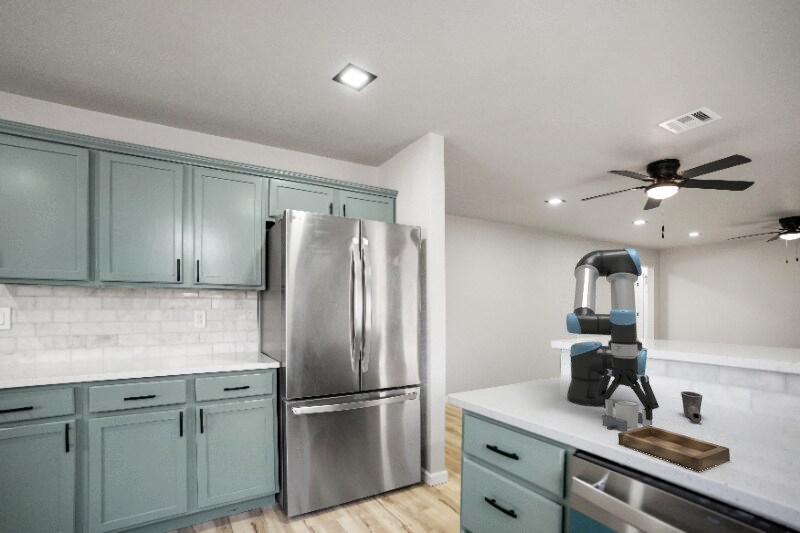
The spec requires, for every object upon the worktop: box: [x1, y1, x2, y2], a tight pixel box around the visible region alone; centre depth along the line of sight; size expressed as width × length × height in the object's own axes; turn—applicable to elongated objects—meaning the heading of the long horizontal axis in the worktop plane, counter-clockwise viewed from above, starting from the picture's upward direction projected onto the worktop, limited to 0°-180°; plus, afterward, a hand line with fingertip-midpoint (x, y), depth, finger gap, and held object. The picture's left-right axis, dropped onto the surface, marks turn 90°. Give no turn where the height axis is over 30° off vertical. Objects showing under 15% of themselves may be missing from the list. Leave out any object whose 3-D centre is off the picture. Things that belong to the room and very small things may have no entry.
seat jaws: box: [601, 411, 653, 432], centre depth 126 cm, size 7×19×3 cm, turn 117°
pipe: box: [680, 391, 704, 423], centre depth 133 cm, size 6×13×8 cm, turn 151°
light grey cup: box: [614, 400, 640, 429], centre depth 126 cm, size 7×7×7 cm
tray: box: [617, 425, 731, 472], centre depth 104 cm, size 20×15×3 cm
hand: (627, 424), depth 126 cm, fingers open, 12 cm apart
